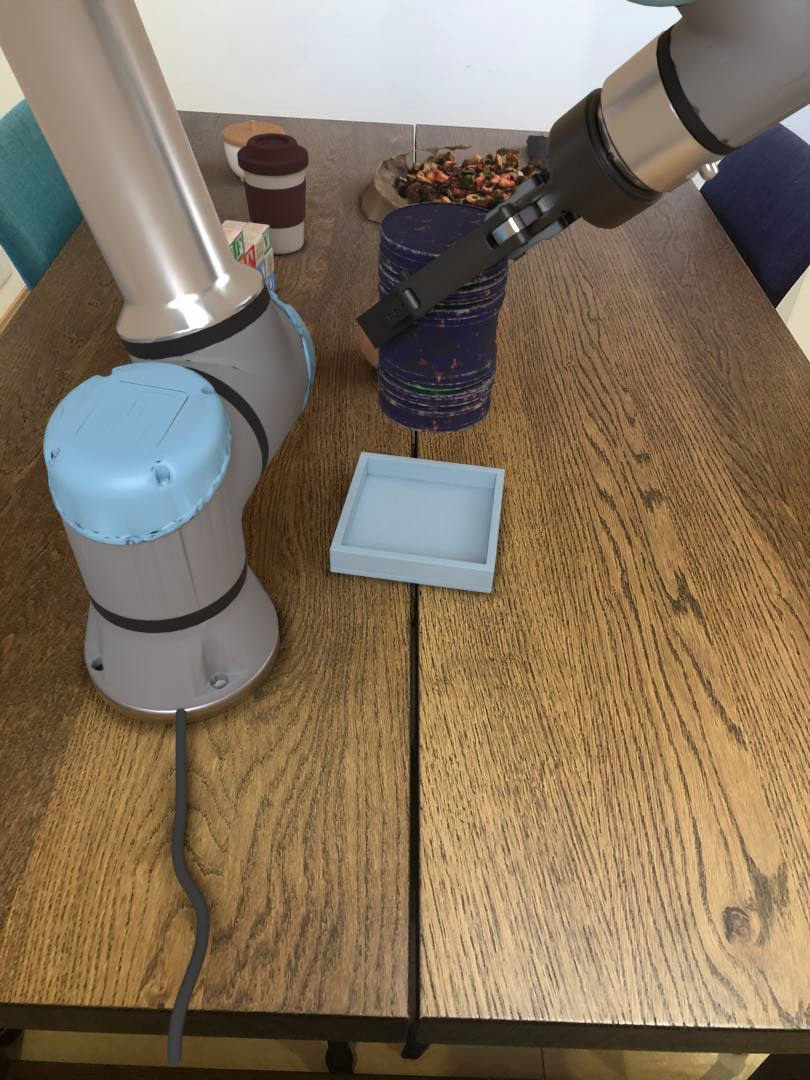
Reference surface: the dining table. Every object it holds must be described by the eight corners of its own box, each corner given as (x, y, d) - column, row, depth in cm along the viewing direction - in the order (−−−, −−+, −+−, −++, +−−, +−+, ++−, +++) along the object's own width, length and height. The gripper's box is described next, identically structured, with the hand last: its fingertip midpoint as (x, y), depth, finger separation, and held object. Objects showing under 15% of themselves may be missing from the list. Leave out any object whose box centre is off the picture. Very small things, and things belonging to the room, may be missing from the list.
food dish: (563, 181, 150) (572, 137, 145) (570, 262, 126) (581, 212, 121) (375, 161, 151) (376, 116, 146) (347, 237, 127) (347, 187, 122)
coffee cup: (320, 254, 122) (316, 148, 112) (255, 263, 119) (245, 155, 109) (301, 228, 129) (296, 126, 118) (239, 236, 126) (228, 132, 116)
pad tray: (490, 593, 73) (494, 571, 71) (330, 571, 74) (329, 549, 72) (501, 490, 83) (505, 468, 81) (361, 472, 85) (361, 451, 83)
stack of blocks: (234, 285, 114) (223, 195, 106) (277, 291, 113) (269, 201, 105) (168, 362, 99) (150, 265, 90) (217, 370, 98) (203, 272, 89)
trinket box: (216, 184, 141) (209, 126, 135) (243, 164, 148) (237, 107, 142) (273, 193, 139) (269, 134, 132) (297, 172, 146) (294, 115, 140)
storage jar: (361, 379, 72) (360, 208, 62) (463, 361, 75) (478, 195, 64) (401, 444, 65) (407, 264, 55) (511, 421, 68) (537, 246, 58)
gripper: (586, 259, 43) (349, 408, 60) (725, 148, 56) (501, 295, 73) (509, 129, 41) (288, 320, 58) (672, 47, 55) (455, 221, 72)
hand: (407, 306), depth 66 cm, fingers closed on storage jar, 10 cm apart
